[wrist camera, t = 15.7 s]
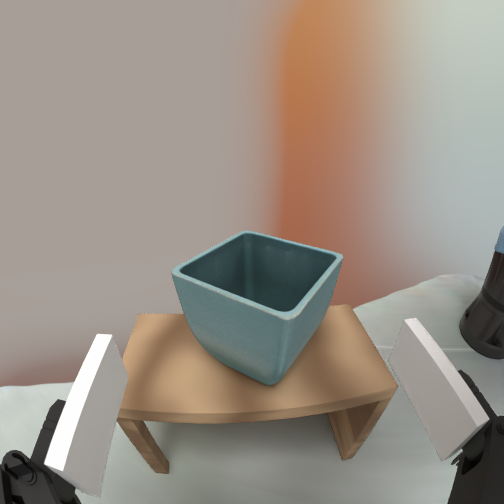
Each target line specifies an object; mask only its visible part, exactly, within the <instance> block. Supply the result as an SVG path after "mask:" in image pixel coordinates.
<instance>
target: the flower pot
mask: <svg viewBox="0 0 504 504" xmlns="http://www.w3.org/2000/svg"><path fill="white" fill-rule="evenodd" d="M342 260H343V255H341V254H338V253H335V252H332V251H329V250H325V249H321V248H316V247H313V246H308V245H304V244H300V243H296V242H292V241H288V240H284V239H280V238H277V237H273V236H269V235H265V234H261V233H257V232H253V231H242V232H240V233H238V234H236V235H233V236H232V237H230V238H228V239H227V240H225V241H223V242H222V243H219V244H218V245H216V246H214V247H212V248H210V249H208V250H207V251H205V252H203V253H201V254H199V255H198V256H196V257H194V258H192V259H190V260H188V261H186V262H184V263H182V264H180V265H178V266H177V267H175V268H174V269H173V270H172V271H171V274H172V278H173V281H174V284H175V287H176V291H177V294H178V297H179V300H180V303H181V306H182V309H183V312H184V315H185V318H186V321H187V323H188V325H189V328H190V330H191V331H192V333H193V335H194V336H195V338H196V339H197V341H198V342H199V343H200V344H201V346H202V347H203V348H204V349H205V350H206V351H207V352H208V353H210V354H211V355H212V356H213V357H214V358H216V359H217V360H218V361H219V362H221V363H223V364H225V365H227V366H229V367H230V368H232V369H234V370H236V371H238V372H241V373H243V374H244V375H246V376H248V377H250V378H253V379H255V380H257V381H259V382H261V383H263V384H265V385H273V384H275V383H277V382H278V381H279V380H281V378H282V377H283V376H284V375H285V373H286V372H287V371H288V369H289V368H290V366H291V365H292V364H293V362H294V361H295V360H296V358H297V357H298V355H299V354H300V353H301V351H302V350H303V348H304V347H305V346H306V344H307V343H308V341H309V340H310V339H311V337H312V336H313V334H314V333H315V332H316V330H317V329H318V327H319V326H320V324H321V322H322V320H323V318H324V316H325V314H326V312H327V310H328V307H329V304H330V301H331V298H332V295H333V292H334V288H335V285H336V282H337V278H338V274H339V271H340V268H341V264H342Z"/></svg>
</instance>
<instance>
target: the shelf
mask: <svg viewBox="0 0 504 504" xmlns="http://www.w3.org/2000/svg"><path fill="white" fill-rule="evenodd" d="M122 361H123V364H124V366H125V369H126V371H127V373H128V376H129V378H128V381H127V385H126V388H125V392H124V395H123V399H122V402H121V406H120V409H119V413H118V417H117V422H118V424H119V425H120V426H121V428H122V429H123V431H124V432H125V434H126V435H127V436H128V438H129V439H130V441H131V442H132V443H133V445H134V446H135V447H136V449H137V450H138V451H139V453H140V454H141V455H142V456H143V458H144V459H145V460H146V462H147V463H148V464H149V465H150V466H151V468H152V469H153V470H154V471H155V472H156V473H165V474H168V472H169V462H168V461H167V459H166V458H165V456H164V455H163V453H162V452H161V450H160V448H159V447H158V445H157V444H156V442H155V440H154V439H153V437H152V435H151V434H150V432H149V430H148V428H147V427H146V425H145V423H144V421H143V420H145V421H156V422H171V423H242V422H257V421H269V420H279V419H288V418H296V417H303V416H310V415H316V414H322V413H327V414H328V417H329V420H330V423H331V426H332V429H333V432H334V435H335V439H336V442H337V445H338V448H339V451H340V454H341V458H342V460H346V459H350V458H352V457H353V456H354V455H355V453H356V452H357V450H358V449H359V448H360V446H361V445H362V443H363V442H364V441H365V439H366V438H367V436H368V435H369V433H370V432H371V430H372V429H373V427H374V426H375V424H376V423H377V421H378V420H379V418H380V416H381V415H382V413H383V412H384V410H385V408H386V407H387V405H388V403H389V402H390V400H391V398H392V396H393V395H394V393H395V391H396V389H397V387H398V385H397V384H396V382H395V380H394V378H393V376H392V375H391V373H390V371H389V369H388V368H387V366H386V364H385V363H384V361H383V359H382V357H381V356H380V354H379V352H378V351H377V349H376V347H375V346H374V344H373V342H372V341H371V339H370V337H369V336H368V334H367V332H366V331H365V329H364V327H363V326H362V324H361V322H360V321H359V319H358V318H357V316H356V314H355V313H354V311H353V310H352V308H351V306H350V305H349V304H347V305H337V306H329V307H328V310H327V312H326V314H325V316H324V318H323V320H322V322H321V324H320V326H319V327H318V329H317V330H316V332H315V333H314V334H313V336H312V337H311V339H310V340H309V341H308V343H307V344H306V346H305V347H304V348H303V350H302V351H301V353H300V354H299V355H298V357H297V358H296V360H295V361H294V362H293V364H292V365H291V366H290V368H289V369H288V371H287V372H286V373H285V375H284V376H283V377H282V378H281V380H279V381H278V382H277V383H275V384H273V385H265V384H263V383H261V382H259V381H257V380H255V379H253V378H250V377H248V376H246V375H244V374H243V373H241V372H238V371H236V370H234V369H232V368H230V367H229V366H227V365H225V364H223V363H221V362H219V361H218V360H217V359H216V358H214V357H213V356H212V355H211V354H210V353H208V352H207V351H206V350H205V349H204V348H203V347H202V346H201V344H200V343H199V342H198V341H197V339H196V338H195V336H194V335H193V333H192V331H191V330H190V328H189V325H188V323H187V321H186V318H185V315H184V314H139V315H138V318H137V320H136V323H135V326H134V328H133V331H132V334H131V337H130V339H129V342H128V345H127V347H126V350H125V353H124V356H123V359H122Z"/></svg>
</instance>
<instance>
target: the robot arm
mask: <svg viewBox="0 0 504 504" xmlns="http://www.w3.org/2000/svg"><path fill="white" fill-rule="evenodd" d="M460 331H461V333H462V335H463V337H464V339H465V340H466V341H467V343H468V344H469V345H470V346H471V347H472V348H474V349H475V350H476V351H478V352H479V353H481V354H483V355H485V356H487V357H490V358H495V359H502V358H504V226H503V228H502V229H501V231H500V234H499V238H498V241H497V244H496V245H495V252H494V255H493V259H492V262H491V265H490V268H489V270H488V273H487V276H486V279H485V282H484V285H483V287H482V290H481V292H480V294H479V295H478V296H477V297H476V299H475V300H474V301H473V302H472V304H471V305H470V306H469V307H468V308H467V310H466V311H465V313H464V315H463V317H462V319H461V321H460ZM388 362H389V363H390V365H391V367H392V369H393V370H394V372H395V374H396V376H397V377H398V379H399V381H400V383H401V384H402V386H403V388H404V390H405V392H406V393H407V395H408V397H409V399H410V401H411V403H412V404H413V406H414V408H415V410H416V412H417V414H418V416H419V418H420V419H421V421H422V423H423V425H424V427H425V429H426V431H427V433H428V435H429V437H430V439H431V441H432V443H433V445H434V447H435V449H436V451H437V453H438V455H439V457H440V460H441V462H442V461H443V460H445V459H447V458H449V457H451V456H453V455H454V454H455V453H457V452H458V451H459V450H460V449H461V448H462V449H463V452H461V453H460V454H459V455H458V456H457V457H456V458H455V459H454V460H453V461H452V463H451V465H453V464H455V463H456V462H457V461H458V460H459V462H458V463H457V464H456V466H458V468H457V472H456V476H455V480H454V483H453V487H452V490H451V494H450V497H449V500H448V503H447V504H504V416H497V415H496V414H495V413H494V411H493V410H492V408H491V407H490V405H489V404H488V402H487V401H486V399H485V398H484V396H483V395H482V393H481V392H479V389H478V388H477V386H475V383H474V382H473V381H472V379H471V378H470V377H469V376H468V375H467V374H466V373H464V372H463V371H462V370H459V371H457V370H456V369H455V367H454V366H453V364H452V363H451V362H450V360H449V359H448V358H447V356H446V355H445V354H444V352H443V351H442V350H441V348H440V347H439V346H438V345H437V343H436V342H435V341H434V339H433V338H432V337H431V336H430V334H429V333H428V332H427V331H426V329H425V328H424V327H423V326H422V324H421V323H420V322H419V321H418V319H417V318H412V319H406V320H404V321H403V324H402V327H401V330H400V332H399V335H398V337H397V340H396V343H395V345H394V348H393V350H392V352H391V355H390V357H389V359H388ZM128 378H129V376H128V373H127V371H126V369H125V366H124V364H123V361H122V359H121V356H120V354H119V351H118V349H117V346H116V343H115V341H114V338H113V335H106V334H97V336H96V338H95V340H94V342H93V344H92V346H91V348H90V350H89V352H88V354H87V356H86V359H85V361H84V363H83V365H82V367H81V369H80V371H79V374H78V376H77V378H76V380H75V383H74V385H73V387H72V389H71V392H70V394H69V397H68V399H67V401H63V400H59V399H58V400H57V401H56V402H55V403H54V404H53V405H52V406H51V407H50V409H49V412H48V414H47V416H46V420H45V421H44V424H43V428H42V429H41V431H40V434H39V437H38V439H37V442H36V445H35V448H34V451H33V453H32V456H31V458H30V459H29V458H28V457H27V456H26V455H24V454H23V453H22V452H21V451H18V450H12V451H9V452H8V453H6V455H5V456H4V457H3V460H2V465H1V464H0V504H81V502H80V500H79V498H78V497H77V495H76V494H75V488H77V489H78V490H80V491H81V492H83V493H86V494H89V495H92V496H96V497H99V498H100V494H101V489H102V483H103V478H104V473H105V468H106V463H107V459H108V454H109V450H110V445H111V441H112V437H113V433H114V429H115V425H116V421H117V417H118V413H119V409H120V406H121V402H122V399H123V395H124V392H125V388H126V385H127V381H128Z"/></svg>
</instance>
